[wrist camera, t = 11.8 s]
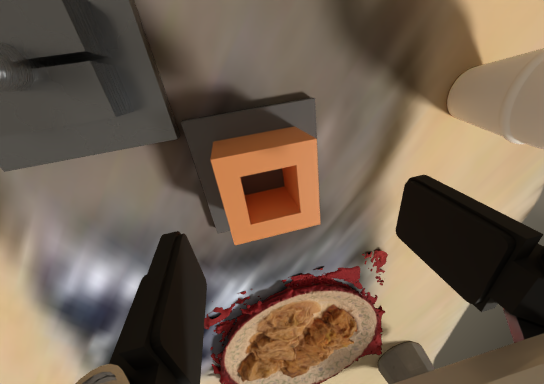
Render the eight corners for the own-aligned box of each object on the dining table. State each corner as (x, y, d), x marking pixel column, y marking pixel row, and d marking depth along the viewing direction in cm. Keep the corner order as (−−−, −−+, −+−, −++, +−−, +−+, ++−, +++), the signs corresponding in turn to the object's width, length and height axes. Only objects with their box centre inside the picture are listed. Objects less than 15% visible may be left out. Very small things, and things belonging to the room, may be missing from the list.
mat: (311, 97, 17) (314, 98, 16) (316, 204, 22) (320, 208, 21) (182, 120, 16) (180, 122, 15) (217, 228, 21) (217, 233, 20)
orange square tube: (294, 126, 17) (316, 138, 13) (300, 196, 20) (320, 224, 16) (213, 141, 16) (210, 160, 12) (232, 212, 19) (234, 245, 15)
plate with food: (374, 342, 39) (387, 364, 36) (234, 397, 36) (236, 426, 33) (379, 241, 28) (399, 259, 25) (178, 308, 25) (173, 338, 22)
